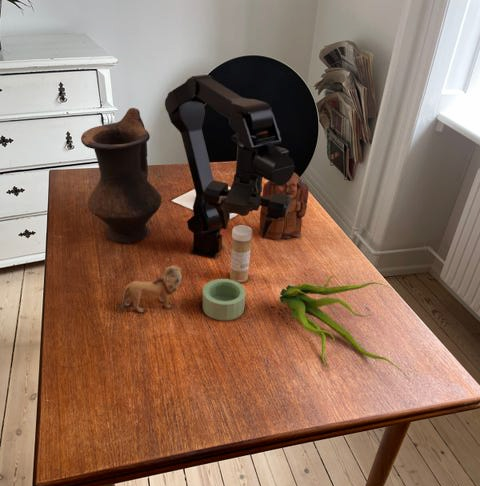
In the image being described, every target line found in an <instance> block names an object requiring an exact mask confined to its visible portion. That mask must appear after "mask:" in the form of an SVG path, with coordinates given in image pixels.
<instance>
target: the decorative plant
mask: <svg viewBox="0 0 480 486" xmlns="http://www.w3.org/2000/svg"><path fill="white" fill-rule="evenodd" d="M337 277H339V278H340V276H338V275H337ZM332 278H335V275H331V276H329V277H328V279H327V281H326V283H325V284H324V286H322V285H314V284H311V283H303V284H297V285H290V284H288V285H287V286H286V287H285V288H282V289H281V291H280V294H279V295H280V296H279V300H280V301H279V302H280V303H282V304H284V305H285V304H286V305H287V306H288V307H289V308H290V313H291V316H292V317H293V318H294V319H296V321H299V322H300V324H301V325H302V327H303V328H304V330H305V331H308V332H312V333H315V334H316V336H318V337H319V338H320V340H321V360H322V362H323V364H324V365H325V367H326V368H328V365H327V364H326V362H325V357H324V356H325V349H326V338H327V337H326V334H327V335H329V336H330V337H331V338H332V339H333V341H335V339H336V338H335V337H334V335H333V334H332V332H330V331H328V330H323V329H321V327H320V326H319V325H318V324H317V323H316V322H315V321H313V320H312V319H310V318H309V317H308V316H307V315H310V316H312V317H314V318H316V319H318V320H319V321H321V322H322V323H324V324H325V325H327V326H328V327H329V328H330V329H332V330H333V331H334V332H335V333H337V334H338V335H339V336H340V337H341V338H342V339H343V340H345V341H346V342H347V343H348V344H350V345H351V346H352V347H353V348H354V349H355V350H356V351H357V352H359V353H360V354H361V355H364V356H367V357H369V358H372V359H376V360H383V361H386V362H387V363H390V364H391V365H393V366H394V367H395V368H396V369H398V370H399V371H401V372H402V374H403V375H404V376H405V377H406V378H407V379H408V380H410V378H409V377H408V376H407V374H405V372H403V370H402V369H400V367H398V366H397V365H396V364H395V363H393V362H392V361H391V360H389V359H388V358H386V357H384V356H380V355H378V354H374V353H372V352H370V351H367V350H366V349H363V348H362V347H361V346H360V344H359V343H358V342H357V341H356V339H354V336H352V335H351V333H350V332H349V331H348V330H347V329H345V328H344V327H342V326H341V325H340V324H339V323H337V322H336V321H335V320H334V319H332V317H330V316H329V315H328V314H326V313H325V312H324V311H323V310H322V309H320V308H323V307H325V306H329V305H330V306H333V307H335V305H334V304H337V303H338V304H340V305H342V306H343V307H345V308H346V309H347V310H348V311H349V312H350V313H351V314H353V315H354V316H357V317H364V318H365V317H369V316H372V315H373V313H370V314H368V315H362V314H358V313H357V312H355V311H354V309H352V308H351V306H350V305H349V304H348V303H347V302H346V301H344V300H342V299H341V298H336V297H328V296H329V295H335V294H340V293H344V292H345V293H346V292H349V291H355V290H360V289H363V288H366V287H367V286H370V285H381V286H385V287H387V288H389V289H391V286H388V285H386V284H384V283H380V282H375V281H373V282H372V281H371V282H367V283H363V284H353V285H352V284H351V285H350V284H349V285H338V286H331V287H328V285H329V283H330V281H331V279H332ZM309 295H321V296H326V297H321V298H313V297H310V296H309Z"/></svg>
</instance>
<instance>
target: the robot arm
mask: <svg viewBox="0 0 480 486" xmlns="http://www.w3.org/2000/svg"><path fill="white" fill-rule="evenodd" d="M206 105H208V106H209V107H210V108H212V109H213V110H215V111H216V112H218V113H219V114H221V115H223V116H224V117H225V118H227V120H228V123H229V127H230V128H231V129H232V131H234V132H235V134H232V136H231V137H230V138H231V140H232V141H234V142H235V143H236V145H237V148H236V160H235V162H236V164H235V173H234V174H233V182H232V184H231V186H230V187H231V189H230V190H228V186H229V184H228V182H223V181H218V180H214V176H213V175H214V174H213V171H212V168H211V163H210V158H209V155H208V151H207V146H206V142H205V138H204V133H203V129H202V127H203V124H204V119H205V116H206V111H205V106H206ZM164 108H165V111H166V112H167V114H168V117H169V121H170V123H171V124H172V125H173V127H175V128H176V130H177V131H178V132H179V133H180V135H181V136H180V137H181V139H182V143H183V147H184V151H185V156H186V160H187V163H188V167H189V171H190V176H191V179H192V183H193V187H194V188H193V189H195V192H196V197H195V201H194V205H193V210H192V211H193V215H192V217H190V218H189V219H188V220H187V221H186V223H187V229H188V231H189V232H191V233H193V235H192V236H193V239H192V240H193V243H192V248H191V250H190V253H191V254H194V255H197V256H198V255H199V256H203V257H206V258H210V259H211V258H212V259H214V258H215V257H216V256H218V255H217V254H219V253H220V251H221V250H222V248H223V235H222V234H221V230H224V231H226V230H227V229H228V225H229V221H230V220H231V219H230V213H235V214H238V215H240V216H241V217H246V216H249V214H250V212H251V213H252V212H253V211H256V212H257V211H259V209H260V207H261V206H265V207H268V209H267V212H268V213H267V214H266V216H265V217H266V221H265V225H264V229H263V234H262V237H261V238H262V239H265V238H266V234H267V232H268V230H269V228H270V226H271V224H272V222H273V220H274V219H275V220H278V219H280V218H285V217H286V215H287V213H288V212H289V210H290V208H291V203H292V199H291V198H290V196H287V195H282V194H277V193H274V195H273V196H272V198H267V197H262V193H263V179H265V180H266V181H267V182H268V181H270V182H272V183H273V184H275V185H277V186H282V185H284V184H286V183H287V182H288V181H289V180H290V179H291V177H292V175H293V173H295V163H294V160H293V159H292V157H290V156H289V154H290V151H289V150H288V149H287V148H284V147H280V146H278V144H281V143H282V142H283V141H282V138H281V135H280V134H281V131H280V129H279V128H278V125H277V121H276V117H275V114H274V112H273V110H272V107H271V105H270V104H269V103H267V102H265V101H263V100H259V99H255V98H246V97H242V96H241V95H239V94H237V93H236V92H234V91H233V90H231V89H229V88H228V87H226V86H224V85H223V84H222V83H219V81H216V80H215V79H214V78H213V76H212V75H209V74H200V75H193V76H190V77H189V78H187V80H186V81H185V82H184V83H182V84H180V85H179V86H177V87H175V88H174V89H172V90H171V91H169V92H168V93H167V96H166V98H165V99H164ZM265 134H267V135H265ZM259 135H261V136H259ZM256 136H258V137H256Z"/></svg>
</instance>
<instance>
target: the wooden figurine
mask: <svg viewBox="0 0 480 486" xmlns="http://www.w3.org/2000/svg"><path fill="white" fill-rule="evenodd" d="M309 191H310V190H309V186H308V185H307V183H306V182H304V181H303V180H302V179H301V177H300V176H299V175H298V174H297V173H296V172H294V173H293V175H292V177H291V179H290V180H289V181H288V182H287V183H286V184H284V185H282V186H277V185H275V184H273V183H272V182H270V181H268V180H267V181H266V182H265V183H264V184H263V186H262V194H261V196H262V197H267V198H272V196H273V195H274V193H277V194H282V195H287V196H290V198H291V199H292V203H291V208H290V210H289V212H288V213H287V215H286V217H285V218H280V219H278V220H275V219H274V220H273V222H272V224H271V226H270V228H269V230H268V232H267V234H266V236H265V238H267V239H269V240H275V241H279V240H290V239H291V240H292V238H300V236H301V231H302V224H303V218H304V217H305V215H306V213H307V209H308V202H309V201H308V199H309ZM260 207H261V208H260V211H259V231H260V234H262V235H263V229H264V225H265V221H266V217H265V216H266V214H267V213H268V212H267V209H268V207H265V206H260Z"/></svg>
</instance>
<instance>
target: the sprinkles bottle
mask: <svg viewBox="0 0 480 486" xmlns="http://www.w3.org/2000/svg"><path fill="white" fill-rule="evenodd" d="M231 239H232V242H231V252H230V253H231V254H230V273H229V279H230V280H234V281H236V282H238V283H245V282H246V281H247V280H248V279H249V268H250V260H251V259H250V257H251V242H252V239H253V229H252V228H251V227H250V226H247V225H244V224H239V225H238V224H237V225H235V226H234V227H233V228H232V230H231Z"/></svg>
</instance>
